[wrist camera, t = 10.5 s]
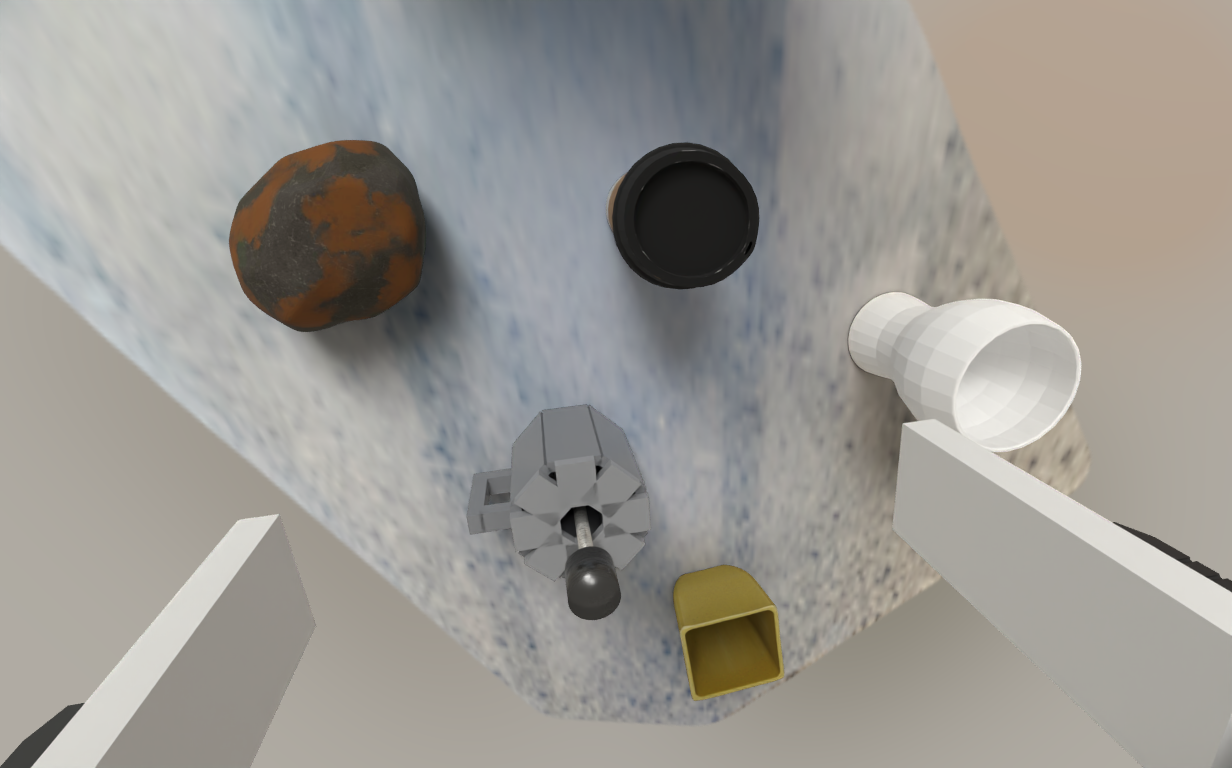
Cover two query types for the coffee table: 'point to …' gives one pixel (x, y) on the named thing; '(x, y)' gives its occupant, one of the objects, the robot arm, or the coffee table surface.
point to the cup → (971, 365)
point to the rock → (330, 235)
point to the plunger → (590, 573)
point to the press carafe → (565, 491)
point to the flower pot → (727, 631)
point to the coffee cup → (683, 216)
